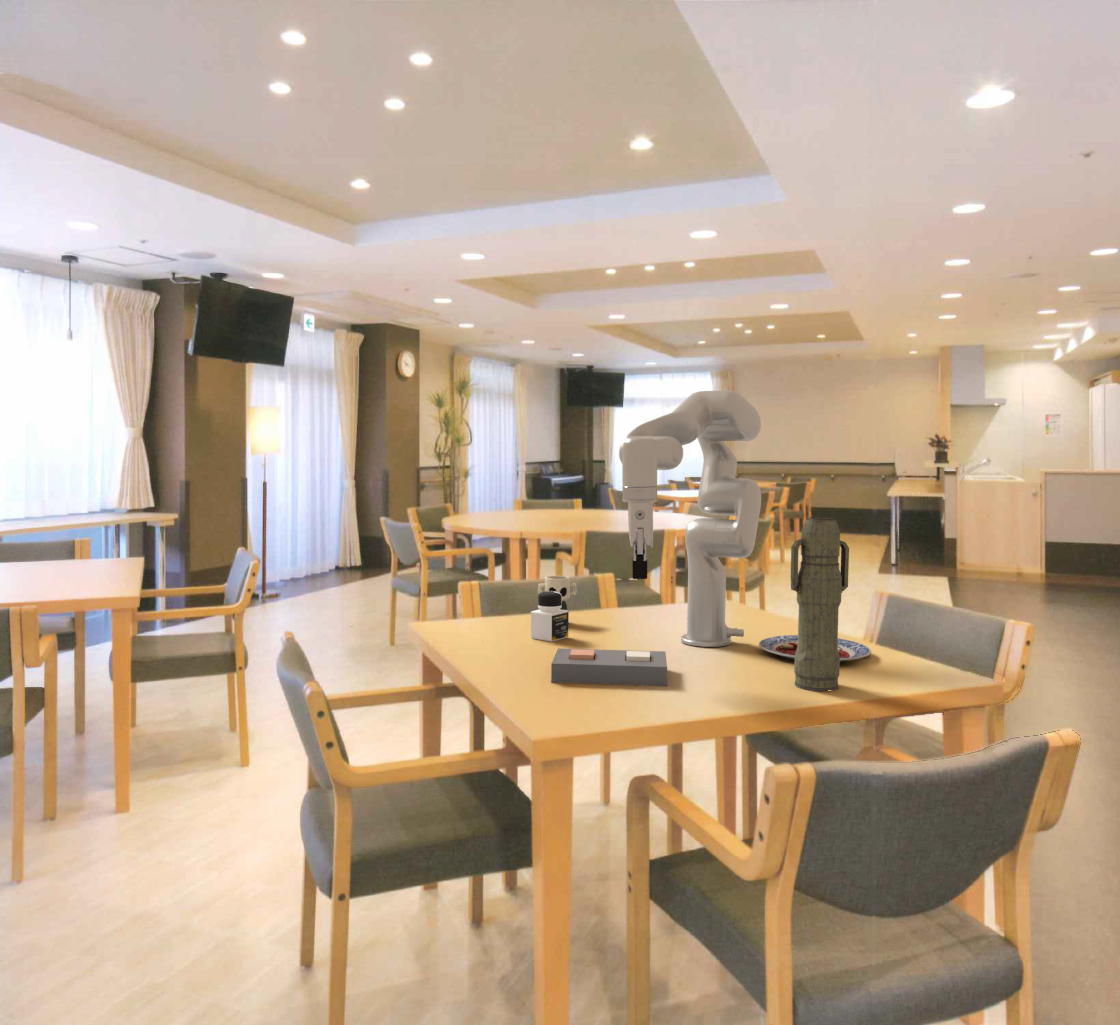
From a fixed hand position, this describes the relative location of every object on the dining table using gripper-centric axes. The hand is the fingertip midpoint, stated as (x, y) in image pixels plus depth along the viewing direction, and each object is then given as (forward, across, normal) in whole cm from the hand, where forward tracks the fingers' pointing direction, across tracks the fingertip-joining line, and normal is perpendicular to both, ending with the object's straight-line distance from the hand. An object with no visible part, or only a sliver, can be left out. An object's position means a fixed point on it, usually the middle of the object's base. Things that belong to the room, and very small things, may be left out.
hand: (639, 578), depth 189 cm
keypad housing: (+20, -5, +6) cm, 22 cm away
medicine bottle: (+21, +31, +23) cm, 44 cm away
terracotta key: (+18, -5, +12) cm, 23 cm away
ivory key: (+19, -5, 0) cm, 19 cm away
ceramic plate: (+22, +20, -42) cm, 52 cm away
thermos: (+21, -8, -36) cm, 43 cm away
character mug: (+22, +51, +23) cm, 60 cm away
